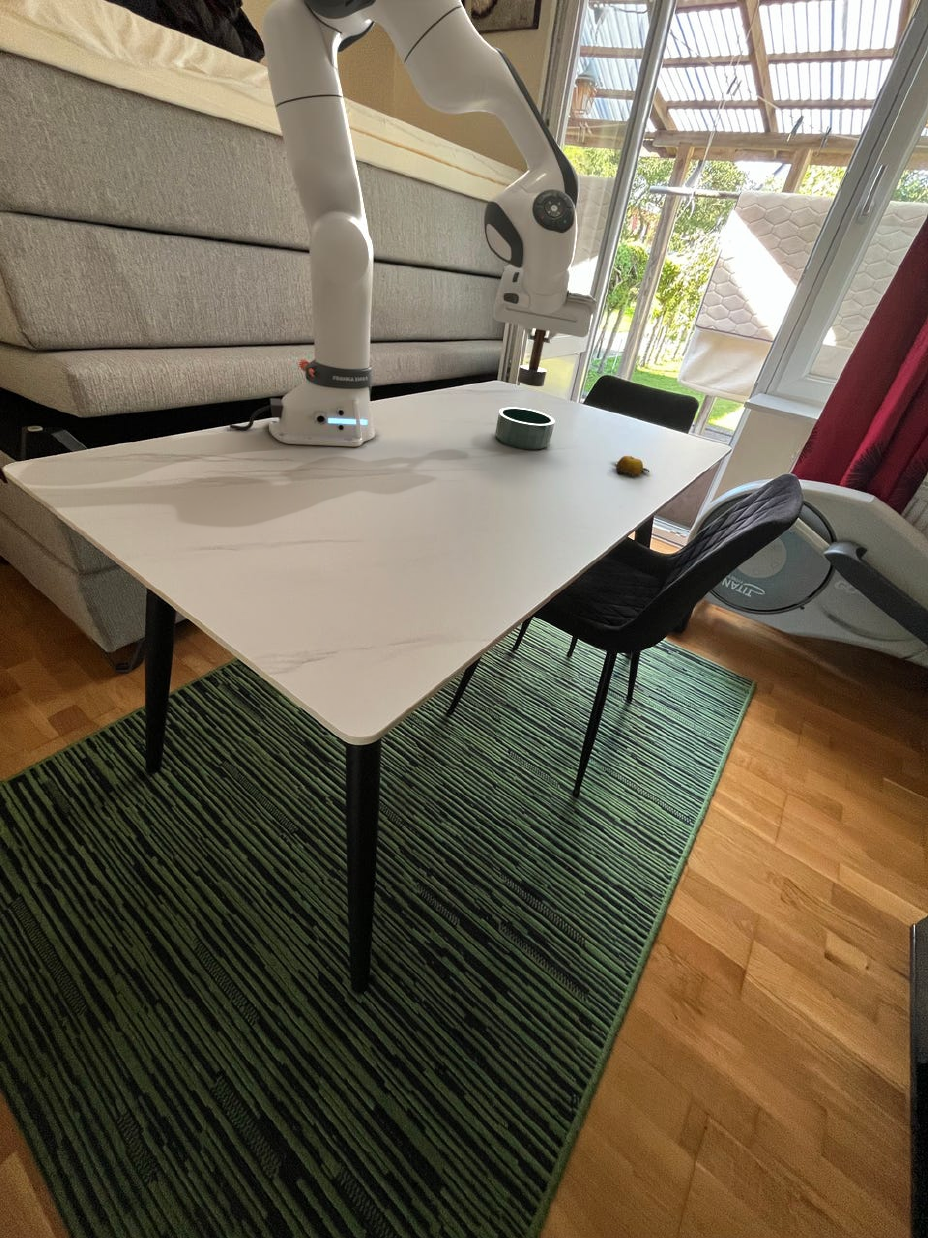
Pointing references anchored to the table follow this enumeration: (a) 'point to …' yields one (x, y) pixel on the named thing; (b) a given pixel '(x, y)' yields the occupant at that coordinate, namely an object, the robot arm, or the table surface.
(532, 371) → the ring toss peg
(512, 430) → the bowl
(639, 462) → the fruit
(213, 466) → the table surface
